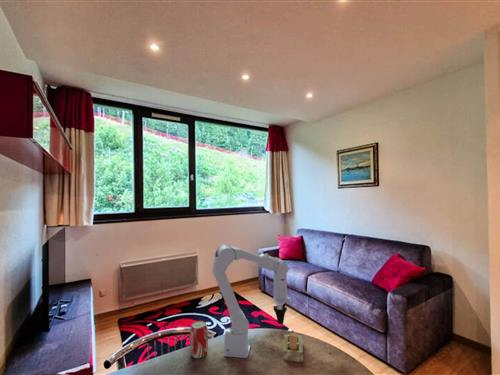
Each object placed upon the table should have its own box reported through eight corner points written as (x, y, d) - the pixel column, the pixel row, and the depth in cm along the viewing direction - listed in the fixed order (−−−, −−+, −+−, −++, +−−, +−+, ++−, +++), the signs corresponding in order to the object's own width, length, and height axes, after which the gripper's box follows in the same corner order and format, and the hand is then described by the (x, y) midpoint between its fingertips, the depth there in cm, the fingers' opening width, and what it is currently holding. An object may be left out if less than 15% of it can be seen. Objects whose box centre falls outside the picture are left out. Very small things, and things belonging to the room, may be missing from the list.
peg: (289, 357, 98) (289, 337, 99) (289, 353, 101) (289, 333, 101) (297, 358, 98) (297, 337, 98) (297, 353, 101) (296, 333, 101)
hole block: (283, 360, 97) (283, 351, 97) (284, 342, 109) (284, 334, 109) (303, 362, 96) (303, 352, 96) (302, 344, 107) (301, 335, 108)
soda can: (204, 361, 97) (203, 329, 98) (187, 359, 99) (187, 328, 99) (210, 350, 104) (210, 320, 105) (194, 348, 106) (194, 319, 106)
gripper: (289, 294, 101) (290, 328, 101) (289, 282, 116) (290, 312, 115) (272, 293, 102) (272, 327, 102) (274, 281, 117) (275, 311, 116)
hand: (281, 319), depth 108 cm, fingers open, 7 cm apart
